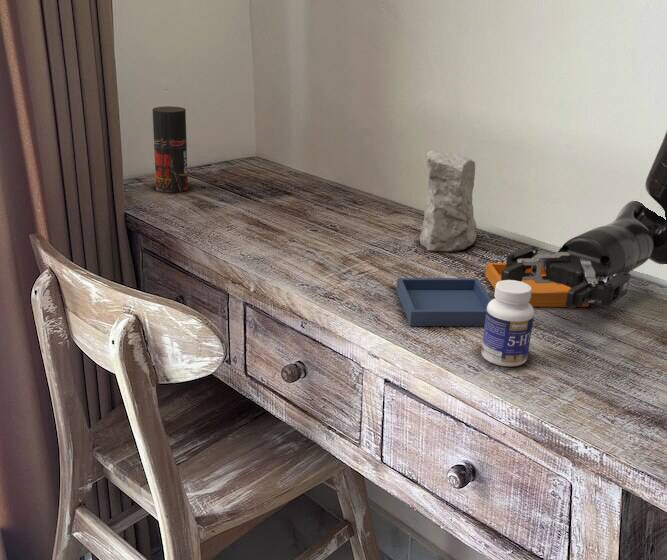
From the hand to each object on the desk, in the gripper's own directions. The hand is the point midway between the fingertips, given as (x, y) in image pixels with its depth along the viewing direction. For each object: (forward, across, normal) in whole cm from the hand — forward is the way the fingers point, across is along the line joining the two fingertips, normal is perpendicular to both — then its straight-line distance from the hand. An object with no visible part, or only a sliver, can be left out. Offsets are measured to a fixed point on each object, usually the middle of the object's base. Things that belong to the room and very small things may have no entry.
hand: (536, 289), depth 95 cm
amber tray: (-15, -8, +7) cm, 19 cm away
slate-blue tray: (-1, -13, +7) cm, 15 cm away
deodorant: (-8, -82, +7) cm, 83 cm away
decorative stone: (-23, -28, +7) cm, 37 cm away
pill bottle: (+6, 0, +7) cm, 9 cm away
